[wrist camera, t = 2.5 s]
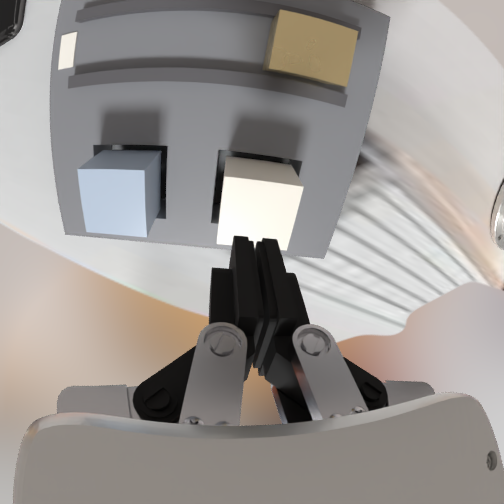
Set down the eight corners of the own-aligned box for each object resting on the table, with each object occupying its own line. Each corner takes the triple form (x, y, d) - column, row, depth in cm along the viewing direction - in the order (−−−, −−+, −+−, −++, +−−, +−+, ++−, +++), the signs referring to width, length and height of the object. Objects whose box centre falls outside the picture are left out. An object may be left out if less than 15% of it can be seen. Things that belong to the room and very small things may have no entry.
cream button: (291, 164, 16) (303, 186, 14) (278, 219, 19) (286, 250, 16) (226, 156, 16) (224, 176, 13) (219, 213, 18) (216, 243, 15)
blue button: (161, 150, 15) (144, 170, 12) (160, 208, 18) (147, 237, 15) (103, 150, 15) (77, 169, 12) (107, 204, 17) (86, 232, 14)
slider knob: (336, 37, 11) (358, 31, 8) (326, 83, 13) (346, 86, 10) (271, 21, 10) (280, 9, 8) (262, 70, 12) (268, 68, 10)
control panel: (369, 22, 12) (396, 15, 9) (314, 236, 23) (326, 264, 20) (83, 1, 9) (57, -7, 6) (81, 215, 20) (61, 239, 17)
